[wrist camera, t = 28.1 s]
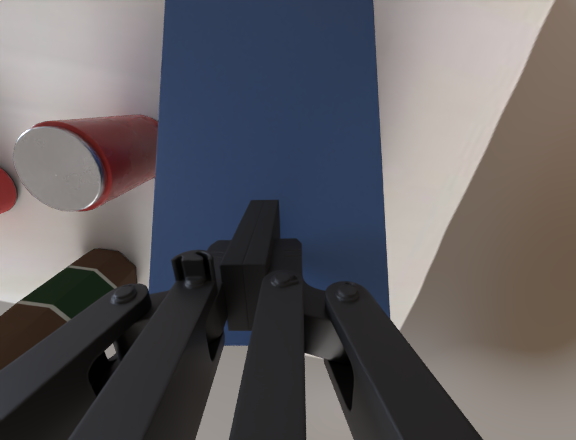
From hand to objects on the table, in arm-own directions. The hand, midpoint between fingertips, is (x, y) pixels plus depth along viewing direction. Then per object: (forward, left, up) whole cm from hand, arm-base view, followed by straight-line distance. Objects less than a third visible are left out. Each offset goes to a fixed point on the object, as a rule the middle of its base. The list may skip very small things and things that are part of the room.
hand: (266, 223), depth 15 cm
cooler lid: (-3, 0, -4) cm, 5 cm away
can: (-2, -15, -17) cm, 23 cm away
